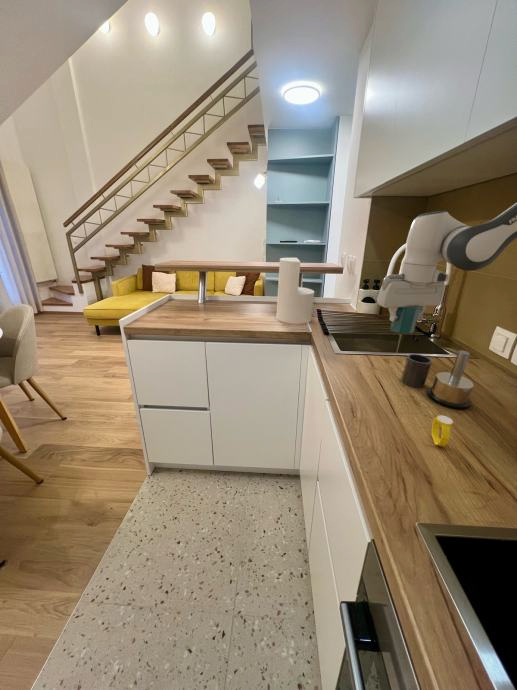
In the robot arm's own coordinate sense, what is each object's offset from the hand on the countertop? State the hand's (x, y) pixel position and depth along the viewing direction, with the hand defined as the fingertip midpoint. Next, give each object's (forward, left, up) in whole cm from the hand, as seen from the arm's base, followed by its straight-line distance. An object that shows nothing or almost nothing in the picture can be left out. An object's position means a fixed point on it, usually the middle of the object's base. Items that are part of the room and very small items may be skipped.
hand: (404, 320), depth 85 cm
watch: (-2, +34, -17) cm, 38 cm away
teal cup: (0, 0, -3) cm, 3 cm away
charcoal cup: (-4, +8, -17) cm, 19 cm away
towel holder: (-11, +15, -17) cm, 25 cm away
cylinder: (+37, -45, -17) cm, 61 cm away
